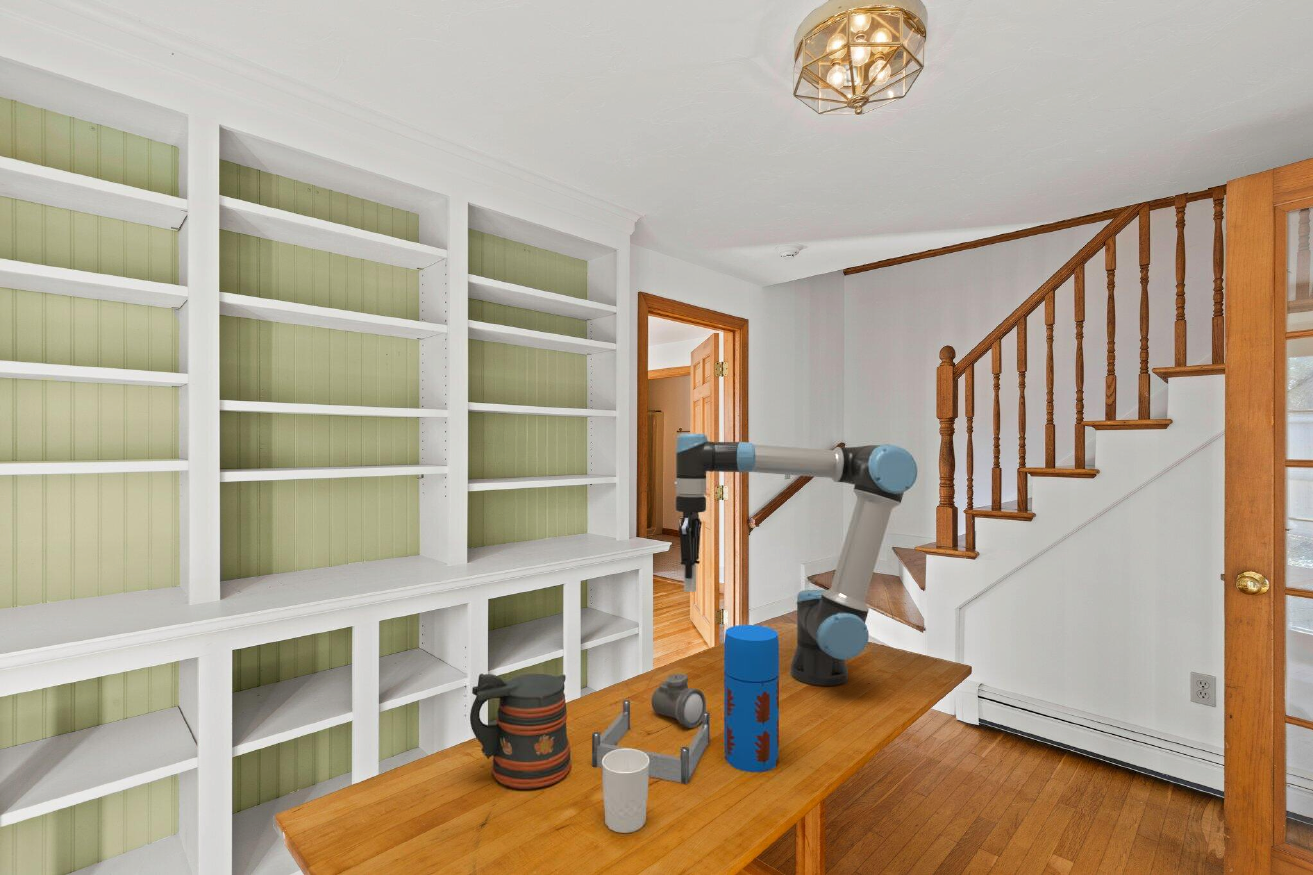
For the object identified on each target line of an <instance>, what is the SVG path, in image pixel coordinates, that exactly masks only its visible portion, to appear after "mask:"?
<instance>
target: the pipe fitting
mask: <svg viewBox="0 0 1313 875" xmlns="http://www.w3.org/2000/svg"><path fill="white" fill-rule="evenodd" d="M688 682H689V679H688V675H687V674H686V673H674V674H671V675H668V676H667V677H666V678H665V681H663V682H661V683H660V684H659V685H658V688H656V689H655V690H654V691H653V693H652V696H651V701H650V702H651V708H652V710H653V711H654V712H655V713H656V714H659V715H661V716H666V717H669V718H673V719H676V720H677V721H678V722H679V724H680V725H681V726H683V727H685V728H688V729H689V728H690V729H695V728H697V727H698V726H700V724H702V712H707V700H706V697H705V694H704V693H703V692H702V690H700V689H698V688H692V687H689V685H688Z"/></svg>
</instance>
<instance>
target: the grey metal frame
mask: <svg viewBox="0 0 1313 875" xmlns="http://www.w3.org/2000/svg"><path fill="white" fill-rule="evenodd" d="M710 714H711V713H710V712H709V711H706V712H702V722H701V725H700V727H699V729H698V731H697V732H696V733H695V736H694V737H693V738H692V740H691V742H690V744H689V746H688V747H687V746H681V747H680V751H679V752H680V753H679V754H680V755H679V756H676V755H669V754H663V753H659V752H652V751H646V750H641V749H638V748H637V749H636V750H639V751H642V752H644V753H645V754H646V755H647V756H648V757H649V778H655V779H659V780H660V779H661V780H666V781H672V782H675V783H680V784H682V785H683V784H684V785H687V784H689V783H690V778H691V776H693V775H692V774H693V772H694V771H695V769H696V767H697V765H698V764H699V761H700V760H701V757H702V756H703V754H704V752H705V751H706V748H707V746H708V745H709V744H710V741H711V740H710V739H711V738H710V737H711V736H710V733H711V732H710V730H711V729H710V724H711V723H710V722H711V721H710V719H711V715H710ZM630 729H631V701H630V700H629V699H624V700H623V701H622V712H621V713H620V714H619V715H617V717H616V718H615V719H614V720H613V721H612V722H611V723H610V724H609V725H608V726H607V728H606V729H605V730H604V731H603V732H602V733H601V732H600V731H593V732H592V733H591V766H592V767H595V768H597V767H598V768H602V759H603V757H604V756H605V755H606V754H607V753H609V752H611V751H614V750H618V749H632V748H631V747H625V746H618V745H617V744H618V743H619V742H620V740H621V739H622V737H624V736H625V735H626V733H627V732H628V731H629V730H630Z"/></svg>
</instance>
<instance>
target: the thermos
mask: <svg viewBox="0 0 1313 875" xmlns="http://www.w3.org/2000/svg"><path fill="white" fill-rule="evenodd" d="M723 642H724V645H723V646H724V648H723V651H724V655H723V656H724V657H723V658H724V660H723V661H724V664H723V665H724V666H723V668H724V669H723V671H724V674H723V677H724V680H723V684H724V685H723V686H724V687H723V688H724V689H723V691H724V692H723V693H724V695H723V697H724V698H723V704H724V705H723V706H724V707H723V710H724V712H723V741H724V742H723V744H724V759H725V761H726V763H727V764H729V766H732V767H733V768H734V769H737V770H738V771H739V770H740V771H743V772H749V773H763V772H768V771H770V770H772V769H774V768H775V767H776V766H777V764H778V761H779V747H780V744H779V743H780V728H779V727H780V720H779V718H780V715H779V714H780V681H779V680H780V642H779V634H778V631H776V630H775V629H772V628H770V627H768V626H763V625H754V624H740V625H733V626H730V627H728V628H727V629H725V635H724V641H723Z"/></svg>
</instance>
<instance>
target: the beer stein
mask: <svg viewBox="0 0 1313 875" xmlns="http://www.w3.org/2000/svg"><path fill="white" fill-rule="evenodd" d="M566 679H567V678H566V674H561V675H558V676H556V675H555V676H554V675H552V674H551V675H550V674H545V673H528V674H527V673H526V674H522V675H519V676H516V677H514V678H511V679H509V680H503V679H502V678H501V677H500V676H498V675H496V674H492V673H487V674H485V673H484V674H483V673H480V674H479V675H478V681H477V686H472V690H471V691H472V692H471V693H472V695H474V696H475V699H474V701H473V703H472V706H471V709H470V712H469V713H470V714H469V721H470V727H471V730H472V732H473V734H474V736H475V737H476V739H477V741H478V743H479V744H480V745H481V746H482V748H481V753H482V755H483V756H485V757H486V758H487V760H489V759H490V758H491V757H492V759H493V760H492V768H491V771H492V774H493V775H494V776H493V777H494V778H495V780H497V782H499V783H500V784H501V785H502V786H506V787H510V788H512V789H516V790H531V789H532V790H533V789H539V788H543V787H548V786H551V785H554V784H557V783H558V782H560V781H561V780H562V779H564V778H565V777H566V776H567V775H568V773H569V772H570V769H571V767H572V761H571V760H572V759H571V745H570V741H569V739H568V731H567V730H568V728H567V718H568V714H567V713H568V711H567V703H566V694H565V686H566V685H565V682H566ZM492 699H499V700H498V709H497V717H496V723H495V724H485V723H483V722H482V720H481V717H480V712H481V709H482V707H483V705H484V704H485V703H486V702H487V701H489V700H492Z"/></svg>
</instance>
